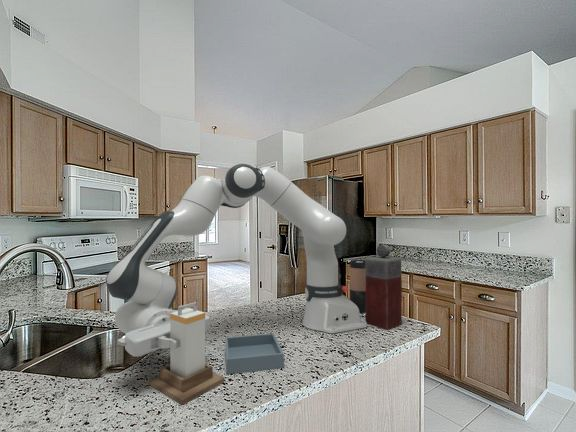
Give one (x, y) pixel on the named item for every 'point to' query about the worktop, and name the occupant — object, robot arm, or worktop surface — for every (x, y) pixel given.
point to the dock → (185, 383)
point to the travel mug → (358, 284)
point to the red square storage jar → (383, 290)
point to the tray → (253, 353)
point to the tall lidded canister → (187, 340)
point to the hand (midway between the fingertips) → (190, 340)
